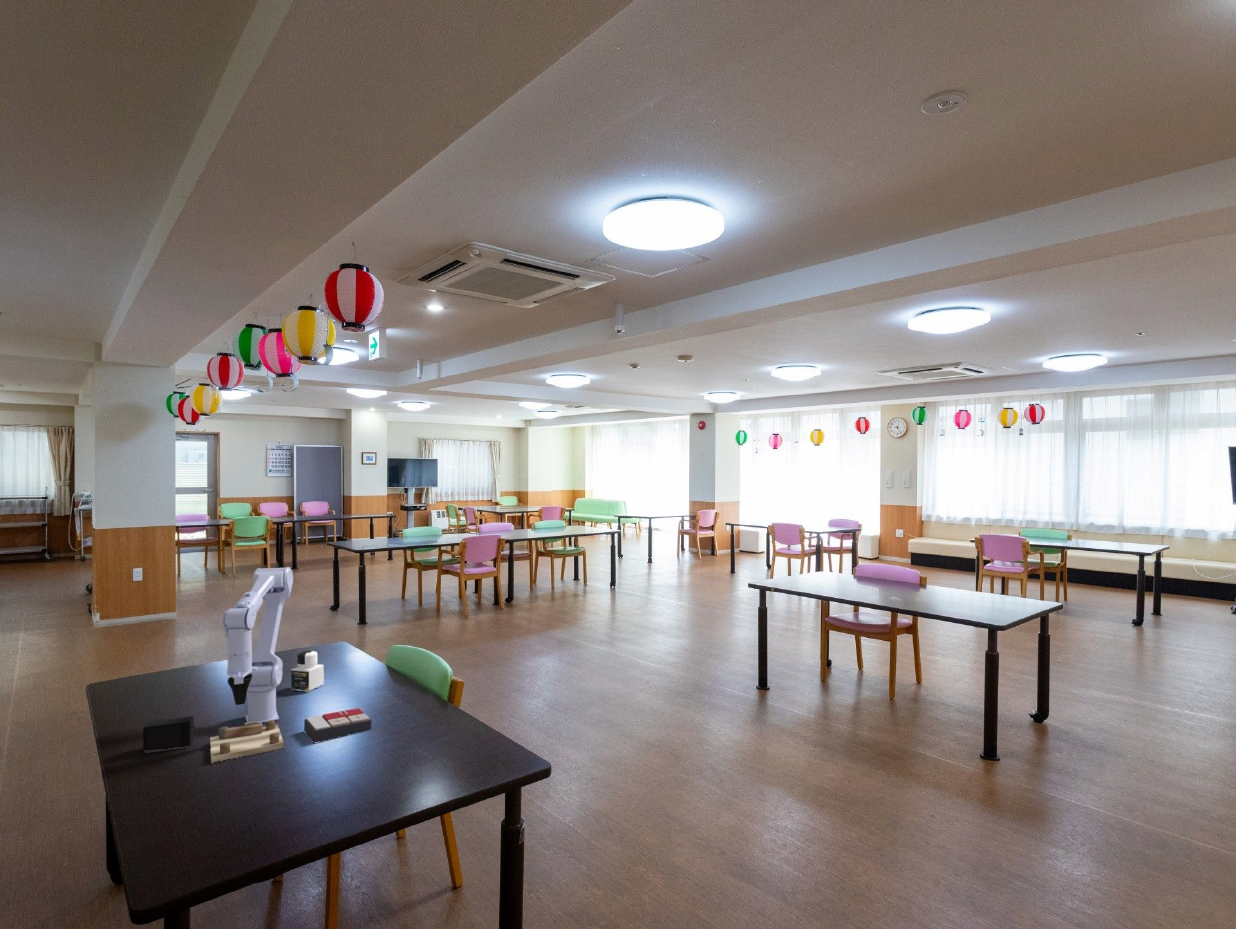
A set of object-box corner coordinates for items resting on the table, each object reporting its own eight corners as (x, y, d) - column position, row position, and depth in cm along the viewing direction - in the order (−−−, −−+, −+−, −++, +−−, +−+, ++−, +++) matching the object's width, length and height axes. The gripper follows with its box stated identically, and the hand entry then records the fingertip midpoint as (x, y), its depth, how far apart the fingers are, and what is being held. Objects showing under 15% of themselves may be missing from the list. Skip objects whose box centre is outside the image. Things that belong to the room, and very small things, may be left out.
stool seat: (210, 743, 177) (210, 729, 177) (277, 729, 186) (277, 717, 186) (211, 763, 165) (211, 749, 165) (283, 748, 173) (283, 734, 173)
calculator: (372, 717, 185) (314, 728, 176) (371, 733, 185) (313, 744, 176) (360, 706, 194) (304, 716, 185) (359, 721, 194) (303, 732, 185)
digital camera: (195, 740, 180) (195, 713, 180) (190, 747, 175) (190, 720, 175) (149, 746, 176) (149, 719, 176) (143, 754, 171) (142, 727, 171)
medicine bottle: (290, 691, 219) (290, 654, 219) (306, 684, 226) (306, 648, 226) (308, 692, 217) (308, 655, 217) (324, 685, 224) (323, 649, 224)
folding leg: (218, 739, 176) (218, 730, 176) (219, 736, 178) (219, 727, 178) (261, 733, 179) (261, 723, 179) (262, 730, 181) (262, 721, 181)
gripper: (255, 657, 175) (256, 709, 175) (257, 644, 188) (257, 693, 188) (224, 661, 172) (225, 714, 172) (228, 648, 185) (228, 697, 185)
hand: (240, 703), depth 180 cm, fingers closed
